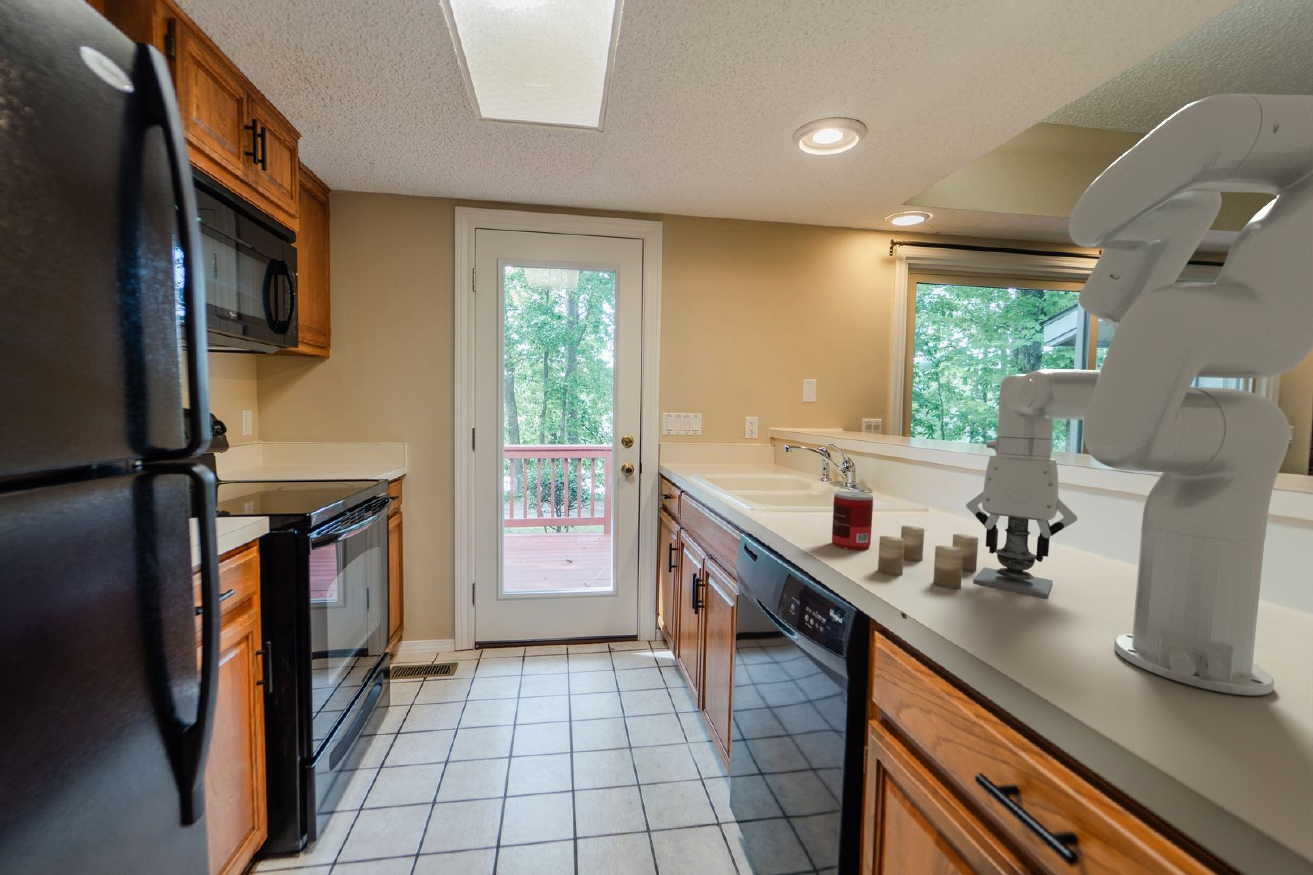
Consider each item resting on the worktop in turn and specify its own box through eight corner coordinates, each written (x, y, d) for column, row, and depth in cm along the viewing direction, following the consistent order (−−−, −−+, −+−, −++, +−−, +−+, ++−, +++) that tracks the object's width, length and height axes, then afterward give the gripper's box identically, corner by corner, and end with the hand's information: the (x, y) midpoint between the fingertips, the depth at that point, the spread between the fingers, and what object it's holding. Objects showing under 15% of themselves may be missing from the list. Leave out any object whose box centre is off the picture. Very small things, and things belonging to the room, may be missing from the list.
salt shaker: (1044, 578, 86) (1049, 506, 86) (1020, 581, 84) (1025, 507, 84) (1009, 568, 92) (1013, 500, 91) (985, 570, 90) (990, 501, 89)
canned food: (873, 545, 112) (876, 493, 111) (866, 552, 105) (869, 498, 104) (836, 539, 116) (839, 489, 115) (827, 546, 109) (830, 494, 108)
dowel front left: (898, 577, 89) (900, 542, 89) (874, 571, 92) (876, 538, 92) (905, 572, 92) (907, 538, 92) (881, 567, 95) (883, 534, 95)
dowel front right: (957, 589, 83) (959, 552, 83) (930, 583, 86) (932, 547, 86) (963, 584, 86) (966, 548, 86) (937, 579, 89) (939, 544, 89)
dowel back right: (973, 573, 93) (976, 540, 93) (948, 568, 96) (950, 536, 96) (978, 568, 96) (980, 536, 96) (953, 564, 99) (955, 532, 99)
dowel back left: (919, 562, 99) (921, 531, 99) (897, 557, 102) (898, 527, 102) (924, 558, 102) (926, 528, 102) (903, 554, 105) (905, 524, 105)
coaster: (1047, 598, 81) (1047, 594, 81) (973, 582, 88) (973, 579, 88) (1052, 583, 89) (1052, 580, 89) (983, 570, 95) (984, 567, 95)
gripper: (959, 446, 90) (953, 549, 91) (1089, 453, 79) (1080, 572, 79) (968, 445, 95) (962, 542, 96) (1090, 452, 84) (1082, 562, 85)
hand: (1015, 554), depth 88 cm, fingers closed on salt shaker, 5 cm apart
